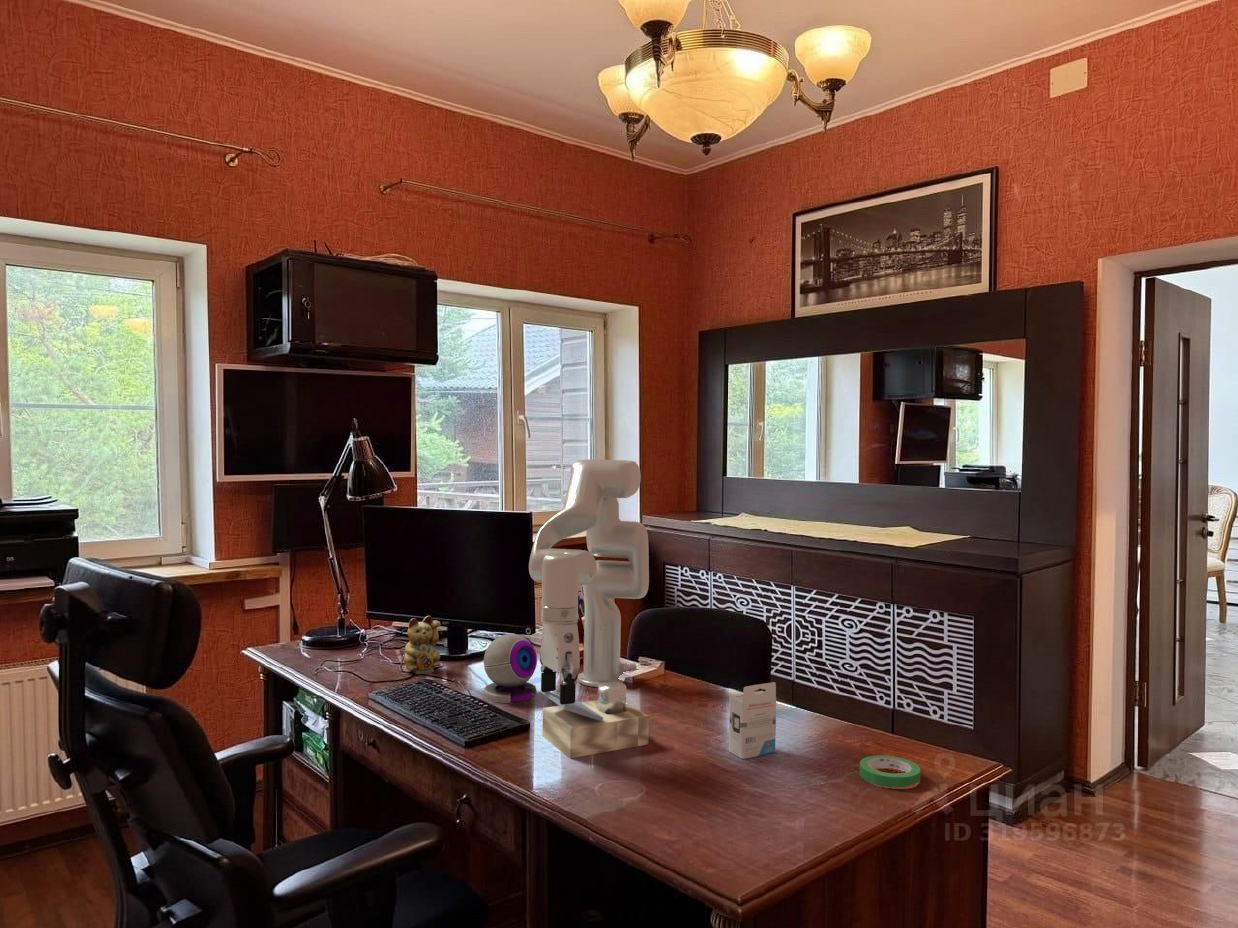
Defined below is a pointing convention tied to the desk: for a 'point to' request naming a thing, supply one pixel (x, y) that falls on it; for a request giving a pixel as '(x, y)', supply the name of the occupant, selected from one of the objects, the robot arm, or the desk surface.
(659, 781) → the desk surface
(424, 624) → the decorative figurine
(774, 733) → the ink box
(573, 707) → the plate
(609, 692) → the light bulb
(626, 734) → the block
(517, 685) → the webcam
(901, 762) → the tape roll
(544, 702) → the desk surface
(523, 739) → the desk surface
